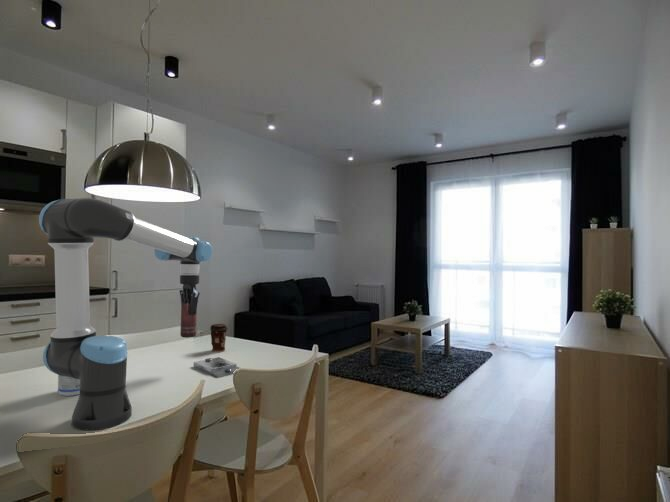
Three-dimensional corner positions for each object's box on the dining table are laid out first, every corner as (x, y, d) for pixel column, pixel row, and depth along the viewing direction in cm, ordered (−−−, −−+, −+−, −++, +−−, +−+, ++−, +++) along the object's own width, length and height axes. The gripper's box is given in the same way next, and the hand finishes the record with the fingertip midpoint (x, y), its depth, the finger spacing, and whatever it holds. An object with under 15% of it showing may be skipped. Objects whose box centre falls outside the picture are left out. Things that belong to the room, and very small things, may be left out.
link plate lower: (217, 377, 155) (217, 373, 155) (199, 369, 165) (199, 365, 165) (243, 371, 164) (243, 367, 164) (225, 364, 174) (225, 360, 174)
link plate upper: (210, 374, 159) (210, 368, 159) (193, 366, 169) (193, 360, 169) (236, 368, 167) (236, 362, 167) (218, 361, 177) (218, 355, 177)
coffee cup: (205, 351, 194) (206, 325, 194) (215, 348, 202) (216, 322, 202) (220, 353, 192) (221, 326, 192) (230, 349, 200) (230, 324, 200)
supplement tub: (68, 387, 141) (69, 346, 141) (95, 387, 141) (97, 346, 142) (51, 397, 131) (52, 353, 131) (81, 396, 132) (82, 352, 132)
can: (179, 338, 158) (180, 303, 158) (181, 334, 165) (182, 301, 164) (195, 337, 160) (196, 303, 160) (196, 334, 166) (197, 301, 166)
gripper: (206, 275, 161) (204, 332, 160) (190, 273, 170) (189, 328, 169) (188, 275, 155) (187, 335, 155) (173, 273, 164) (172, 330, 164)
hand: (188, 331), depth 162 cm, fingers closed
